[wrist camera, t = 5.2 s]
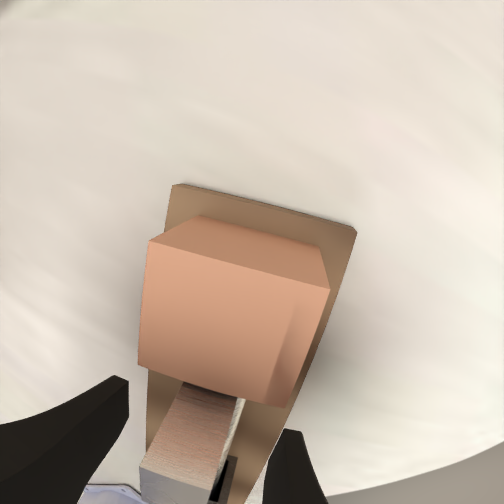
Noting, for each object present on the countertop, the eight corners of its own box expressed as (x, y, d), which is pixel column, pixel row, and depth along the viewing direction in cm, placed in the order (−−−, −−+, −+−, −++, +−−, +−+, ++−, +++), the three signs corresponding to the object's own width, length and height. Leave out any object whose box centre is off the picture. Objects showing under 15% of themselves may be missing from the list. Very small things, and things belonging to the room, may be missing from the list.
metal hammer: (217, 479, 17) (190, 570, 10) (177, 467, 17) (140, 555, 10) (277, 290, 13) (252, 429, 6) (210, 272, 13) (121, 386, 6)
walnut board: (237, 509, 21) (234, 519, 20) (150, 483, 21) (146, 493, 20) (352, 226, 14) (357, 232, 13) (181, 183, 14) (172, 185, 13)
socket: (289, 338, 14) (284, 408, 10) (181, 308, 15) (137, 364, 10) (318, 246, 13) (330, 289, 8) (198, 215, 13) (148, 240, 9)
